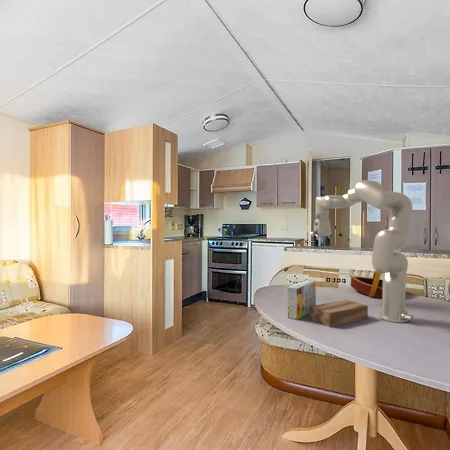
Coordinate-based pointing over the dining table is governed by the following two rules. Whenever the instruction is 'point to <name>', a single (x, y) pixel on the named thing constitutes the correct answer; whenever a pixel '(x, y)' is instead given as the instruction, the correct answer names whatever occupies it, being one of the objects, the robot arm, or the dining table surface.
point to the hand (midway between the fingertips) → (321, 246)
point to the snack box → (301, 299)
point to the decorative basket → (368, 285)
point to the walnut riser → (338, 312)
